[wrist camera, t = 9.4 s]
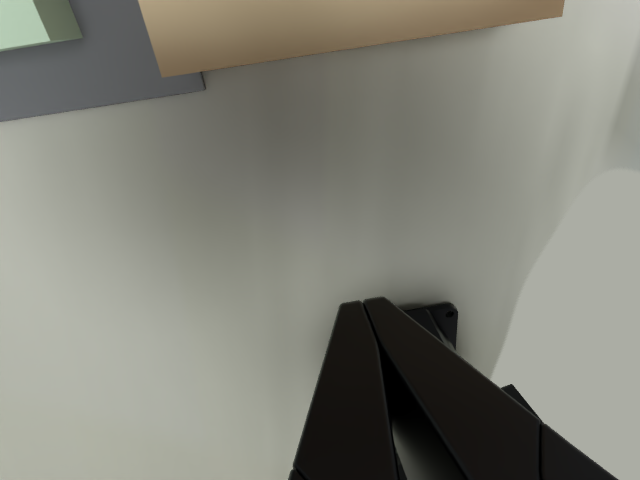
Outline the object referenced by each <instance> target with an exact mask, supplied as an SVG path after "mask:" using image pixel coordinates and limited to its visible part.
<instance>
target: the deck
mask: <svg viewBox="0 0 640 480" xmlns="http://www.w3.org/2000/svg"><path fill="white" fill-rule="evenodd" d="M564 1H565V0H138V2H139V5H140V9H141V12H142V15H143V18H144V21H145V25H146V28H147V31H148V34H149V37H150V41H151V44H152V47H153V50H154V53H155V57H156V60H157V63H158V66H159V70H160V73H161V76H162V78H163V77H170V76H176V75H183V74H189V73H196V72H202V71H209V70H216V69H222V68H229V67H235V66H242V65H248V64H255V63H261V62H268V61H274V60H281V59H287V58H294V57H300V56H307V55H313V54H320V53H326V52H333V51H339V50H346V49H352V48H359V47H366V46H372V45H379V44H385V43H392V42H398V41H405V40H411V39H418V38H424V37H431V36H437V35H444V34H450V33H457V32H463V31H470V30H476V29H483V28H489V27H496V26H502V25H509V24H516V23H522V22H529V21H535V20H542V19H548V18H555V17H561V16H562V13H563V7H564Z"/></svg>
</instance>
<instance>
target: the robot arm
mask: <svg viewBox="0 0 640 480" xmlns="http://www.w3.org/2000/svg"><path fill="white" fill-rule="evenodd" d="M449 311H450V312H449ZM447 312H449V313H447ZM457 319H458V311H457V309H456V308H455V306H454V305H453V304H442V305H437V306H431V307H425V308H419V309H413V310H408V311H402V310H401V309H400V308H398V307H397V306H396V305H394V304H393V303H392V302H391V301H389V300H388V299H387V298H385V297H375V298H369V299H365V300H364V301H363V303H362V302H361V301H359V300H358V301H352V302H346V303H342V304H341V305H340V306H339V310H338V313H337V316H336V320H335V323H334V326H333V330H332V333H331V337H330V340H329V343H328V347H327V350H326V354H325V357H324V360H323V364H322V367H321V371H320V374H319V377H318V381H317V384H316V387H315V391H314V394H313V398H312V401H311V404H310V408H309V411H308V415H307V418H306V421H305V425H304V428H303V432H302V435H301V438H300V442H299V445H298V448H297V452H296V455H295V459H294V462H293V470H291V472H290V475H289V478H288V480H618V479H617V478H615V477H614V476H613V475H611V474H610V473H609V472H607V471H606V470H604V469H603V468H602V467H601V466H599V465H598V464H597V463H596V462H594V461H593V460H591V459H590V458H589V457H588V456H586V455H585V454H584V453H582V452H581V451H580V450H578V449H577V448H576V447H574V446H573V445H572V444H570V443H569V442H568V441H567V440H565V439H564V438H563V437H562V436H560V435H559V434H558V433H557V432H555V431H554V430H552V429H551V428H550V427H549V426H548V425H546V424H544V423H543V422H542V420H541V419H540V418H539V417H538V415H537V414H536V413H535V412H534V411H533V409H532V408H531V407H530V406H529V404H528V403H527V402H526V401H525V400H524V398H523V397H522V396H521V395H520V393H519V392H518V391H517V390H516V389H515V387H514V386H513V385H512V384H510V385H507V386H505V387H502V388H499V387H498V386H497V385H496V384H494V383H493V382H492V381H491V380H489V379H488V378H487V377H485V376H484V375H483V374H482V373H480V372H479V371H478V370H477V369H475V368H474V367H473V366H472V365H470V364H469V363H468V362H466V361H465V360H464V359H463V358H461V357H460V356H459V355H458V354H457V353H456V351H455V350H456V334H457Z"/></svg>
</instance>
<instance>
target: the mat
mask: <svg viewBox="0 0 640 480" xmlns="http://www.w3.org/2000/svg"><path fill="white" fill-rule="evenodd" d="M68 1H69V4H70V6H71V8H72V11H73V13H74V16H75V18H76V21H77V23H78V26H79V28H80V31H81V33H82V36H83V38H79V39H73V40H67V41H61V42H55V43H49V44H43V45H37V46H31V47H25V48H19V49H13V50H7V51H1V52H0V122H2V121H9V120H15V119H22V118H28V117H35V116H41V115H48V114H54V113H61V112H67V111H73V110H80V109H86V108H93V107H99V106H106V105H112V104H119V103H125V102H132V101H138V100H145V99H151V98H157V97H164V96H170V95H177V94H183V93H190V92H196V91H203V90H205V85H204V81H203V78H202V74H201V72H196V73H189V74H183V75H176V76H170V77H163V78H162V76H161V73H160V70H159V66H158V63H157V60H156V57H155V53H154V50H153V47H152V44H151V41H150V37H149V34H148V31H147V28H146V25H145V21H144V18H143V15H142V12H141V9H140V5H139V2H138V0H68Z"/></svg>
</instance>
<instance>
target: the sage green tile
mask: <svg viewBox="0 0 640 480" xmlns="http://www.w3.org/2000/svg"><path fill="white" fill-rule="evenodd" d="M79 38H83V36H82V33H81V31H80V28H79V26H78V23H77V21H76V18H75V16H74V13H73V11H72V8H71V6H70V4H69V1H68V0H0V52H1V51H7V50H13V49H19V48H25V47H31V46H37V45H43V44H49V43H55V42H61V41H67V40H73V39H79Z"/></svg>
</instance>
